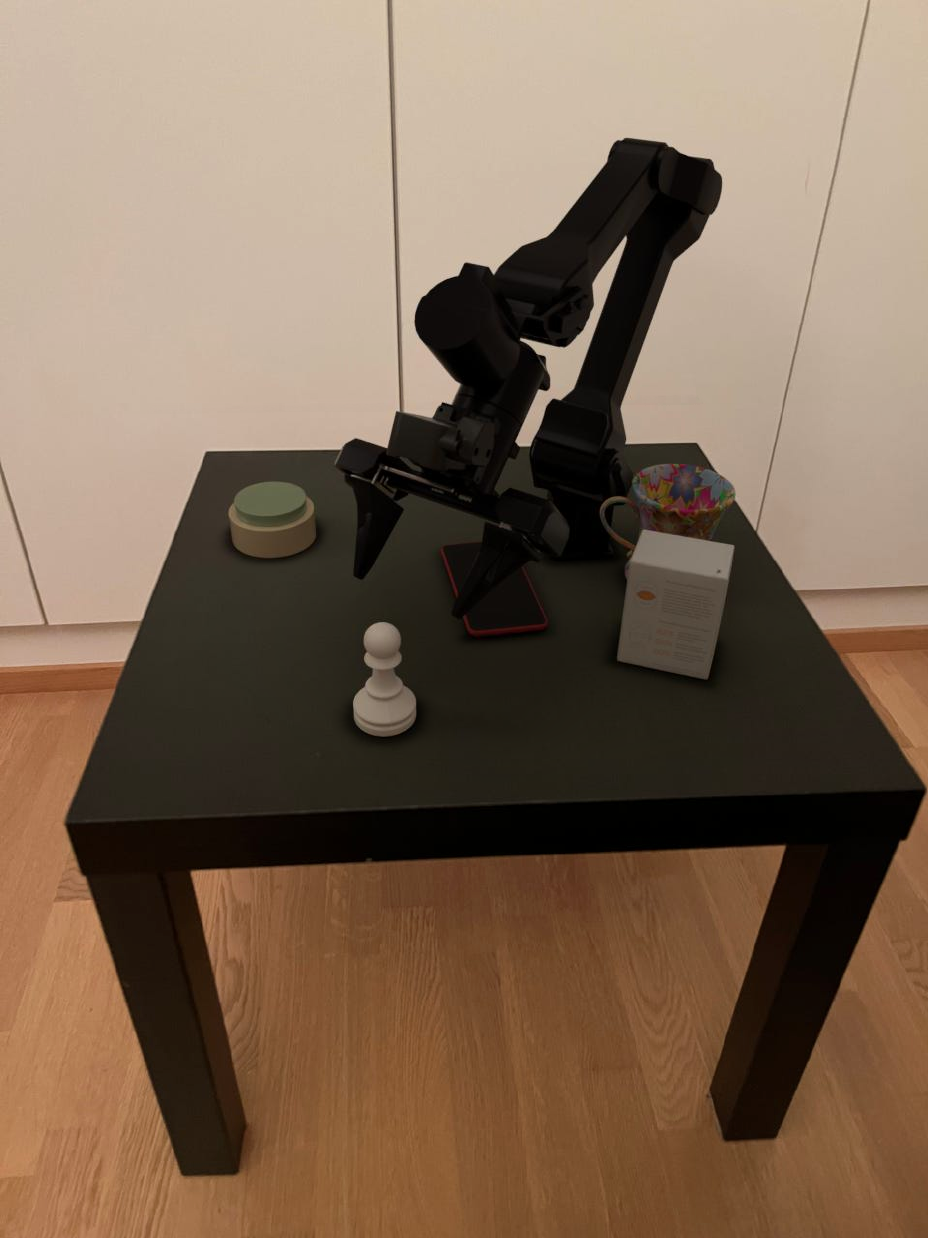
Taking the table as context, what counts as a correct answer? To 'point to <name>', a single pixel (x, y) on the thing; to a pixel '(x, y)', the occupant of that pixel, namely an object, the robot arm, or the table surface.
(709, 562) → the small box
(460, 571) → the smartphone
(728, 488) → the mug
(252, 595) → the table surface
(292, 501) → the push button
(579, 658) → the table surface
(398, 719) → the chess pawn
